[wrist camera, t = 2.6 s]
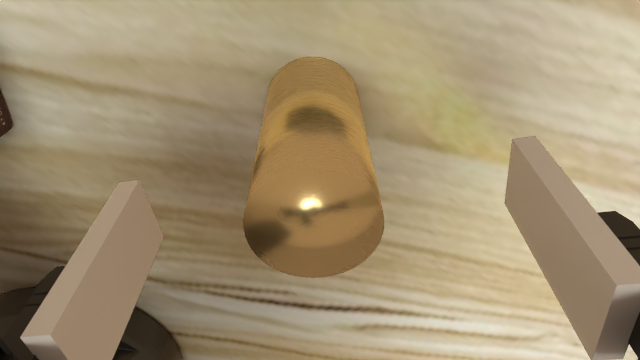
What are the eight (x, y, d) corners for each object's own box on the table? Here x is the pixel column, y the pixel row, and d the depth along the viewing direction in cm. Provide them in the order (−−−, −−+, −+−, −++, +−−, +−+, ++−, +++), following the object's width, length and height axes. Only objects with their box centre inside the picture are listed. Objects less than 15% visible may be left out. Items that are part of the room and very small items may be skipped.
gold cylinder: (276, 145, 25) (258, 283, 16) (258, 63, 22) (228, 177, 14) (361, 135, 25) (387, 270, 16) (353, 50, 22) (380, 159, 14)
